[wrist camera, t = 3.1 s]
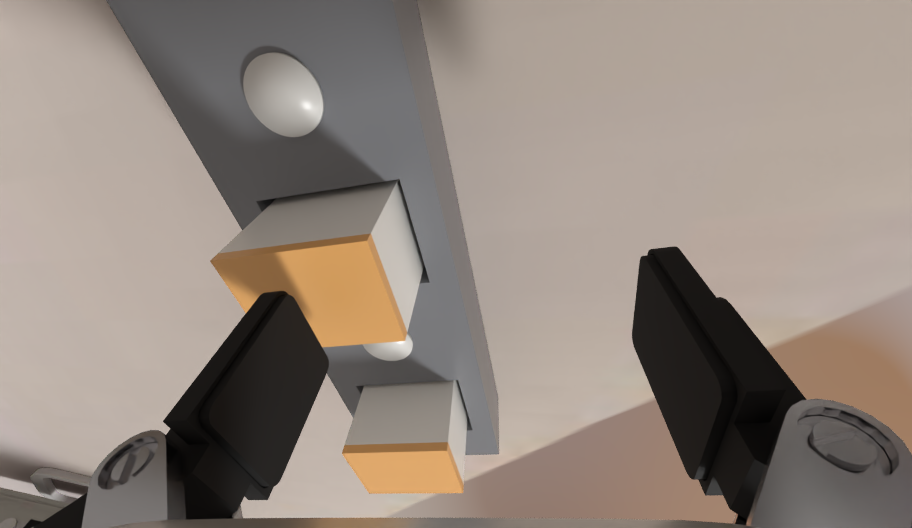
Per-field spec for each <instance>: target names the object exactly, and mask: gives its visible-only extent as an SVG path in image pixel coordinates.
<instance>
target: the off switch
mask: <svg viewBox="0 0 912 528" xmlns="http://www.w3.org/2000/svg"><path fill="white" fill-rule="evenodd" d="M467 415H468V412H467V409H466V405H465V402H464V399H463V395H462V392H461V388H460V385H459V381H458V380H452V381H434V382H417V383H400V384H383V385H365V386H364V387H363V391H362V394H361V397H360V400H359V403H358V406H357V409H356V412H355V415H354V418H353V421H352V424H351V427H350V430H349V433H348V436H347V439H346V443H345V446H344V449H343V452H342V454H343V456H344V457H345V459H346V460H347V462H348V463H349V465H350V466H351V467H352V469H353V470H354V472H355V473H356V475H357V476H358V478H359V479H360V481H361V482H362V484H363V485H364V486H365V488H366V489H367V491H368V492H369V493H463V486H464V468H465V450H466V433H467Z"/></svg>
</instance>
